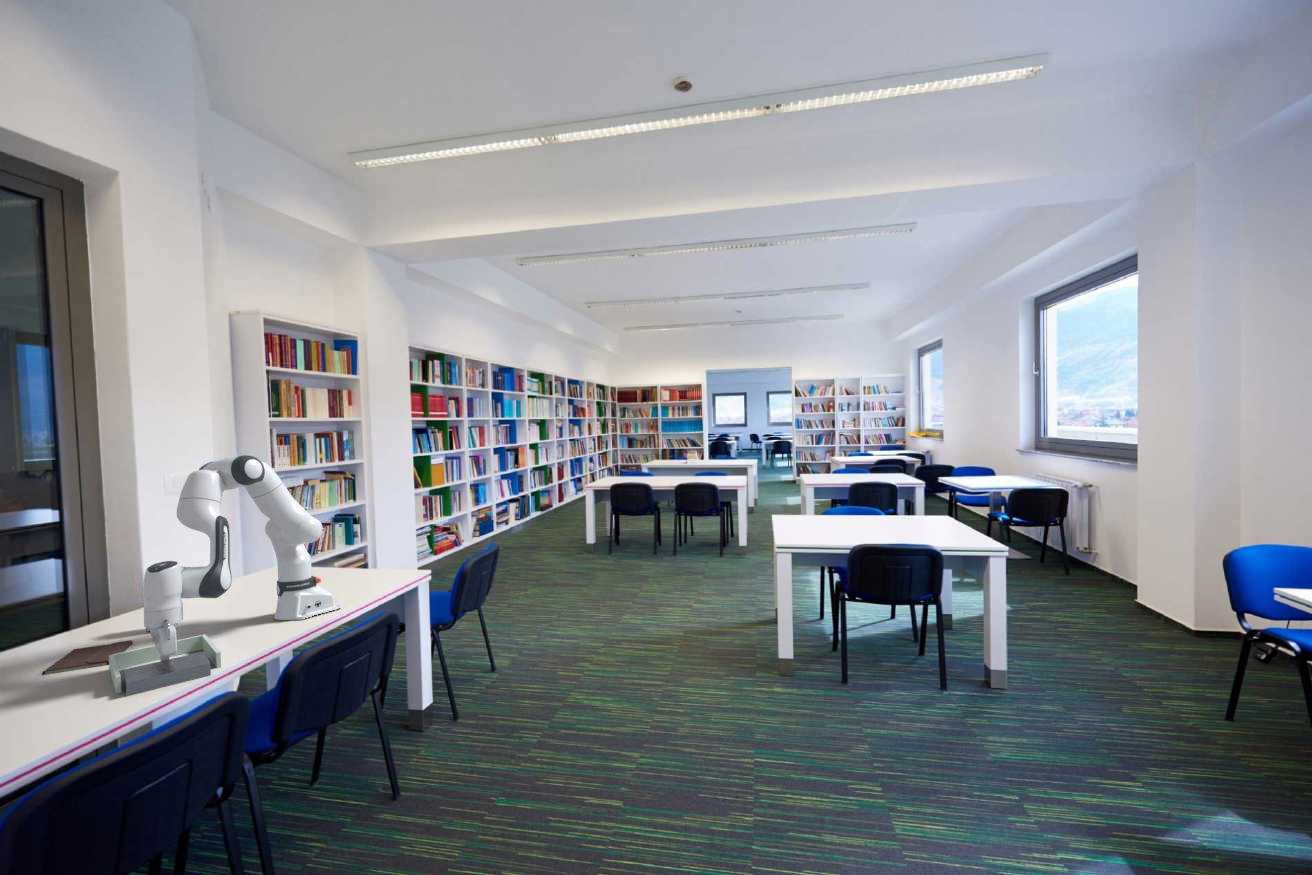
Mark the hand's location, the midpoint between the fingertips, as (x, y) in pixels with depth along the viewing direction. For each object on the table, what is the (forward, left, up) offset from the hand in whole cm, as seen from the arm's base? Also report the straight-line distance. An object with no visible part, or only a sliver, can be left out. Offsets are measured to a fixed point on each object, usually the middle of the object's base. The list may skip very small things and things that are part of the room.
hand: (164, 663), depth 169 cm
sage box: (0, -2, -2) cm, 3 cm away
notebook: (+14, -32, -3) cm, 35 cm away
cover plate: (0, +8, -3) cm, 8 cm away
